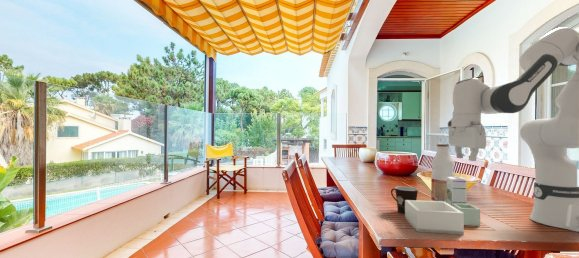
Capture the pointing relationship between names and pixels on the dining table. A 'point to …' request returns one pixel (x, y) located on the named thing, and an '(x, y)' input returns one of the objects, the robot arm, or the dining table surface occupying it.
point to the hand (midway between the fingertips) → (465, 159)
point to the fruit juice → (441, 173)
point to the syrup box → (456, 190)
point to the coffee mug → (404, 196)
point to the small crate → (469, 214)
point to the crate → (434, 217)
